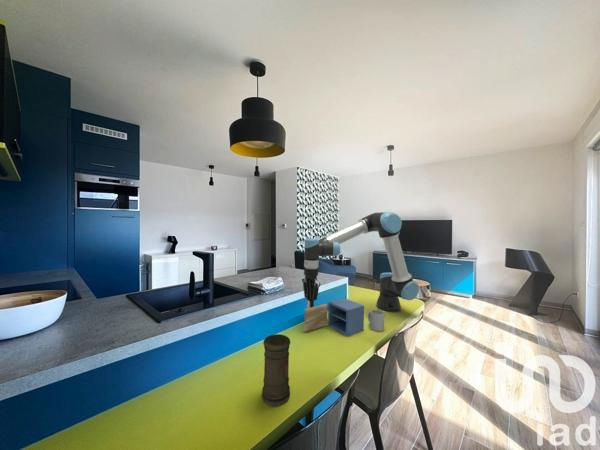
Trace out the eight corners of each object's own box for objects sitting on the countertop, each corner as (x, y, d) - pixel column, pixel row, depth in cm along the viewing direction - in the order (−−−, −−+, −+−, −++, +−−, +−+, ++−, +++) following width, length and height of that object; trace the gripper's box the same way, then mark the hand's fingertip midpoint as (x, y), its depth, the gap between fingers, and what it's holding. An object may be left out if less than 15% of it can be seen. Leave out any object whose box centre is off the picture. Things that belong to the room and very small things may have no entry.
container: (266, 410, 71) (267, 349, 71) (258, 390, 79) (259, 336, 79) (294, 401, 75) (295, 344, 74) (284, 383, 83) (285, 331, 83)
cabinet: (343, 321, 136) (344, 298, 136) (363, 330, 125) (364, 305, 125) (328, 326, 129) (328, 301, 129) (347, 336, 118) (348, 310, 118)
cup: (376, 332, 123) (377, 315, 123) (363, 325, 132) (363, 308, 131) (387, 330, 126) (387, 313, 126) (373, 322, 135) (373, 306, 135)
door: (327, 324, 129) (328, 304, 128) (305, 331, 120) (306, 309, 120) (326, 323, 130) (326, 303, 129) (304, 330, 121) (304, 308, 121)
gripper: (298, 266, 130) (297, 309, 130) (313, 270, 119) (312, 318, 120) (309, 265, 134) (308, 307, 135) (324, 269, 124) (323, 314, 124)
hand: (310, 312), depth 127 cm, fingers closed
